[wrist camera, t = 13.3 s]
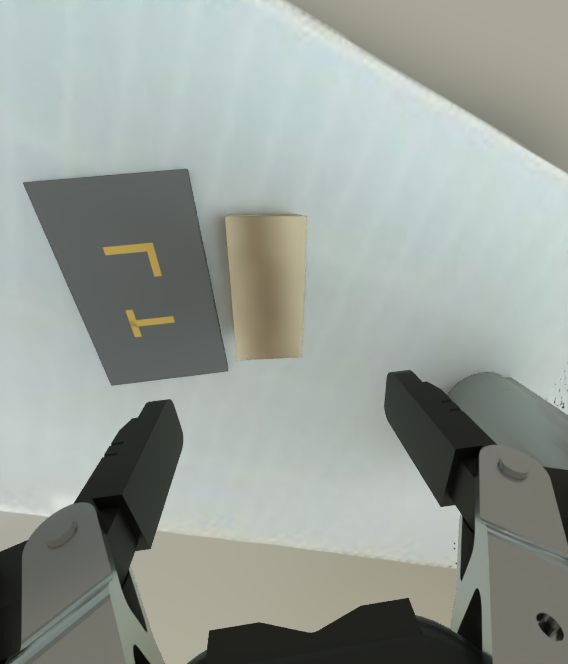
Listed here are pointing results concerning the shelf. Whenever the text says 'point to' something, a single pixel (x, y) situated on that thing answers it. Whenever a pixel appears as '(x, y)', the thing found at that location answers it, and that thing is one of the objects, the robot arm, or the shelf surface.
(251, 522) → the shelf surface
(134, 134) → the shelf surface
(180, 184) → the picture tile
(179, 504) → the shelf surface
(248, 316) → the maple block
